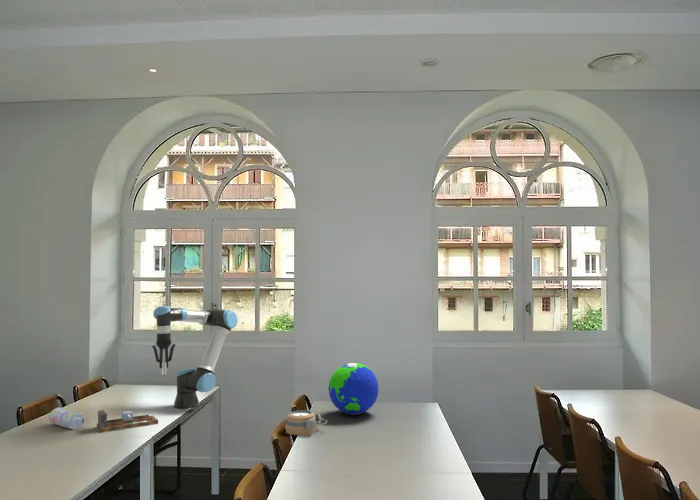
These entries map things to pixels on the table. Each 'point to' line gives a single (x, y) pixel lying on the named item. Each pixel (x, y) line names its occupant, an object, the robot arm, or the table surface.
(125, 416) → the blue grey block
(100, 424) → the board
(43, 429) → the table surface
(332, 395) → the globe
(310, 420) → the alarm clock
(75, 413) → the pencil case
